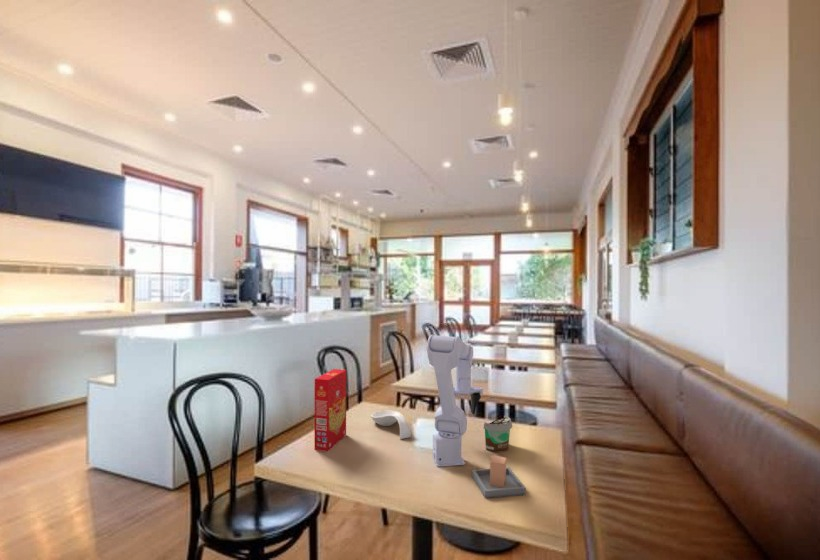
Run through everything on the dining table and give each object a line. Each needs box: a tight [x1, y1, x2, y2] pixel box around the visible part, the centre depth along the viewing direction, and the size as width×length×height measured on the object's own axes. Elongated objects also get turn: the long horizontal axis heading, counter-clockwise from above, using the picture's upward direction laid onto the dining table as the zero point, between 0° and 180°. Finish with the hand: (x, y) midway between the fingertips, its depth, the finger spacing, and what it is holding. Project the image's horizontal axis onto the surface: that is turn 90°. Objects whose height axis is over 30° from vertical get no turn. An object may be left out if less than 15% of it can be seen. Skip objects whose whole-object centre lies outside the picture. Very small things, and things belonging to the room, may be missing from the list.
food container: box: [483, 415, 513, 453], centre depth 143 cm, size 12×6×10 cm, turn 129°
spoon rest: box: [370, 409, 412, 440], centre depth 162 cm, size 24×12×7 cm, turn 30°
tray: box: [471, 466, 527, 499], centre depth 119 cm, size 12×12×2 cm
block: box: [489, 455, 507, 488], centre depth 119 cm, size 4×4×7 cm
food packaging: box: [314, 368, 347, 452], centre depth 148 cm, size 15×5×25 cm, turn 164°
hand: (462, 413), depth 149 cm, fingers open, 7 cm apart
